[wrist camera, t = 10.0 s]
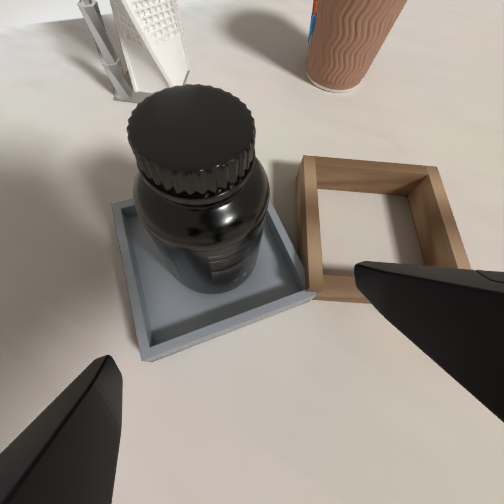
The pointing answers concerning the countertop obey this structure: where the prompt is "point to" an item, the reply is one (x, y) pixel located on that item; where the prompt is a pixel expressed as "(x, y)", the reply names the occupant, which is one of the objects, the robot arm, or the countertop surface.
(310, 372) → the countertop surface
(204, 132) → the supplement bottle
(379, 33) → the coffee cup
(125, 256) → the tray
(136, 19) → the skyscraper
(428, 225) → the slot holder
